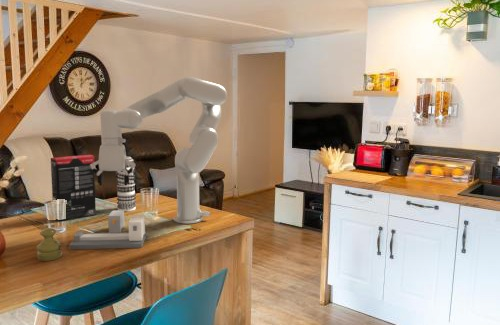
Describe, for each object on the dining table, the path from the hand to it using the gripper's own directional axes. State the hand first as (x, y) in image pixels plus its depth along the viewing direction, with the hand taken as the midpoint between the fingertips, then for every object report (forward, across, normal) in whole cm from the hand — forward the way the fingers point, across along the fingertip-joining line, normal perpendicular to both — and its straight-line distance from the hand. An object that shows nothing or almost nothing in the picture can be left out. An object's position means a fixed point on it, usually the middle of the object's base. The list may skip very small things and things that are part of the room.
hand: (113, 184), depth 168 cm
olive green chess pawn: (+19, +15, +29) cm, 37 cm away
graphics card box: (+19, +22, -19) cm, 35 cm away
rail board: (+18, -1, +15) cm, 24 cm away
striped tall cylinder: (+19, +2, -32) cm, 37 cm away
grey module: (+18, 0, 0) cm, 19 cm away
